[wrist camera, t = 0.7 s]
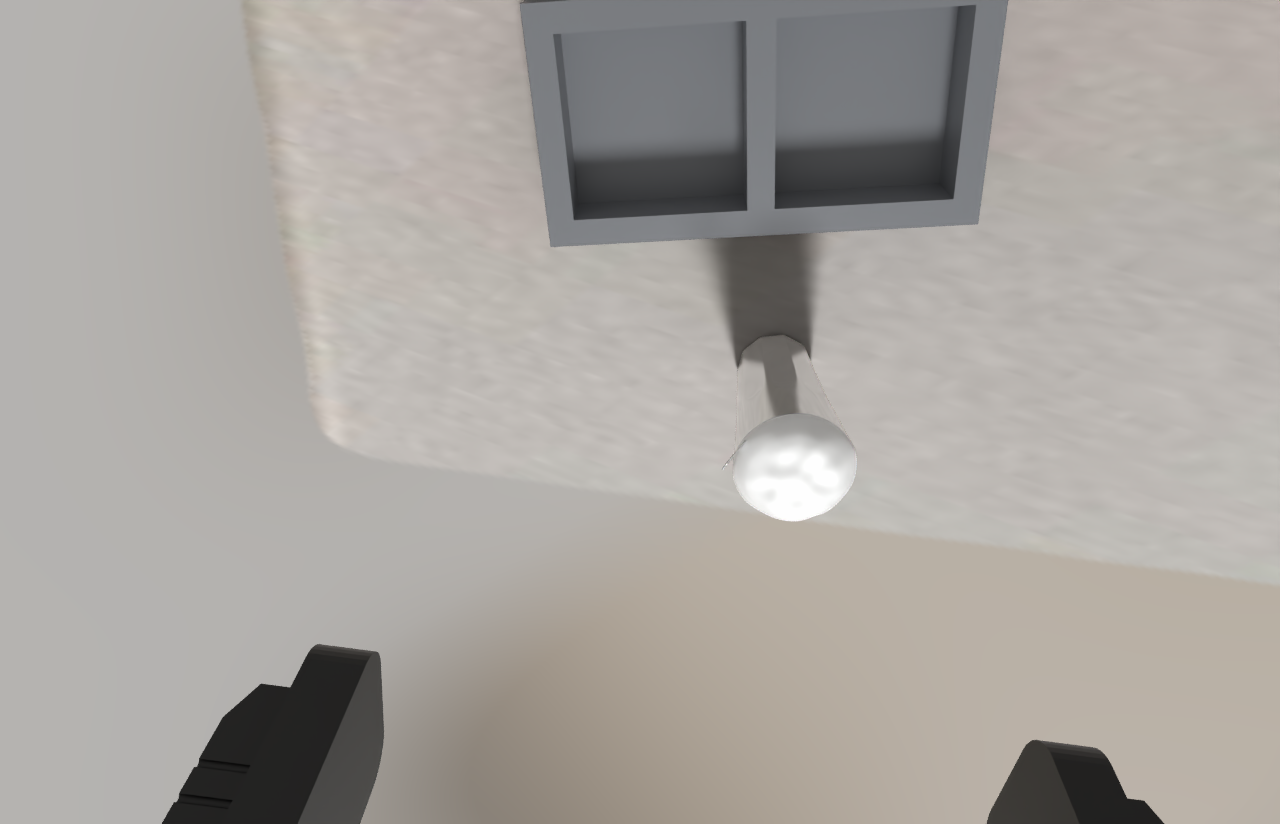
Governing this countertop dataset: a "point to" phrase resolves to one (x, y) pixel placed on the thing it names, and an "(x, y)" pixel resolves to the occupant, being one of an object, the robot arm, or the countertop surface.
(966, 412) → the countertop surface
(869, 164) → the dock
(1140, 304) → the countertop surface
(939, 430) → the countertop surface
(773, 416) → the milkshake
